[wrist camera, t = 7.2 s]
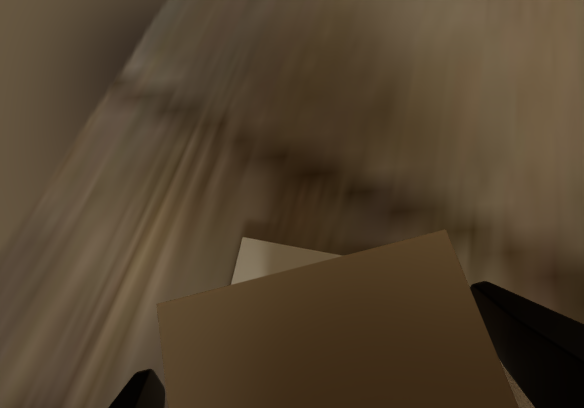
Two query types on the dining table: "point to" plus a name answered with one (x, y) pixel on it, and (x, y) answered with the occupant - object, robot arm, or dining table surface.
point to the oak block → (337, 336)
